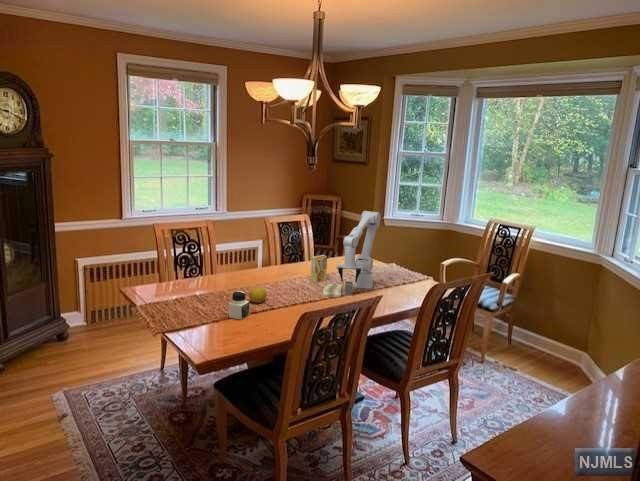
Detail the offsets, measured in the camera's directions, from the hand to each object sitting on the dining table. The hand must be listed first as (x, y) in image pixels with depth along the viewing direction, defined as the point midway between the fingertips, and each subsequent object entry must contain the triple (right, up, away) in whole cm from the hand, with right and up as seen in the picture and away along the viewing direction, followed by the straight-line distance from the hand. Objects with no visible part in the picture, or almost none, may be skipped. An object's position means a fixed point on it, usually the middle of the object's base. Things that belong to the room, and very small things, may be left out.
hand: (348, 281), depth 267 cm
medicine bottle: (-55, -14, -35) cm, 67 cm away
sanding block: (0, -7, +2) cm, 7 cm away
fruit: (-48, -9, -15) cm, 51 cm away
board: (-9, -6, +5) cm, 12 cm away
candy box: (-17, -2, +23) cm, 29 cm away
